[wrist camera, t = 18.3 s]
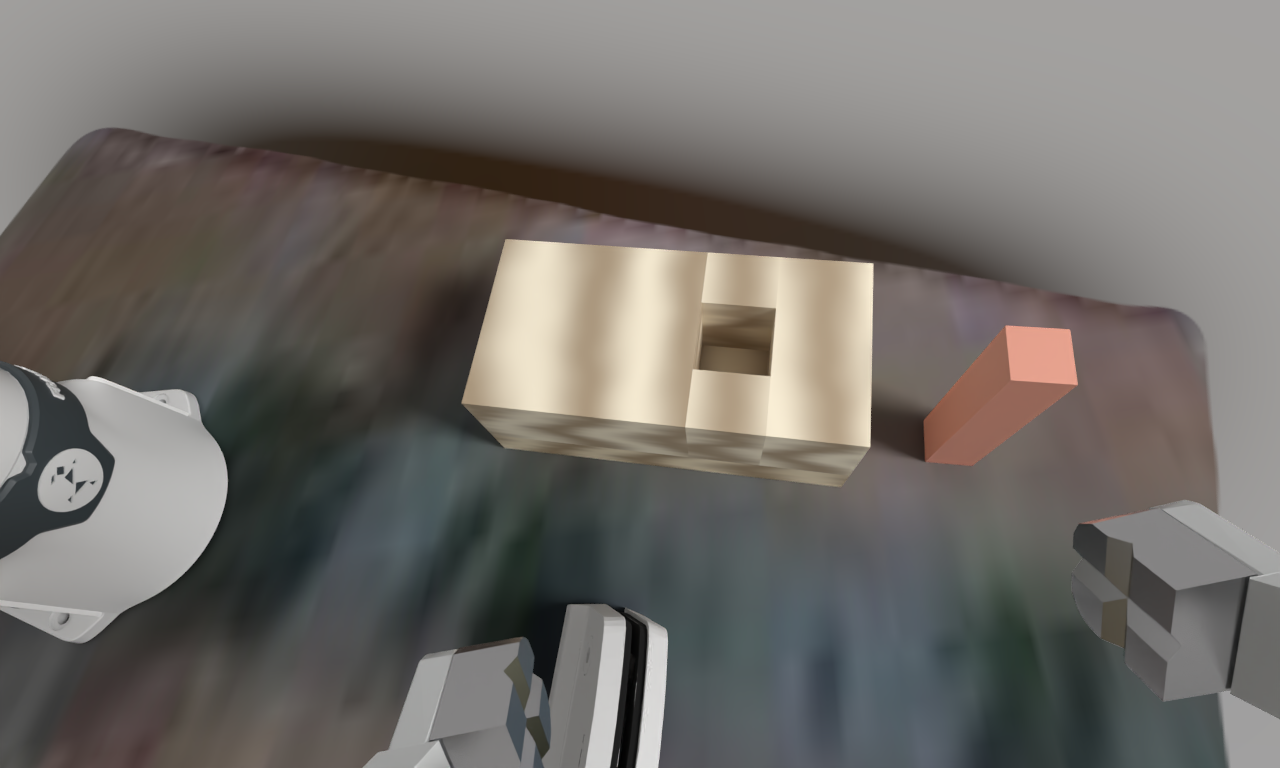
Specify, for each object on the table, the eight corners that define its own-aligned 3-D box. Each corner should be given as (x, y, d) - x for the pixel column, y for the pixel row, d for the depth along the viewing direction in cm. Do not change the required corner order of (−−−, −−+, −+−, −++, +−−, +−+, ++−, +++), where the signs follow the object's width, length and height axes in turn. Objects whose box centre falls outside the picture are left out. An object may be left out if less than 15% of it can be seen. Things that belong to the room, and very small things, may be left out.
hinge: (568, 598, 43) (594, 592, 34) (637, 611, 44) (680, 608, 35) (509, 903, 37) (522, 995, 28) (590, 911, 38) (628, 1003, 29)
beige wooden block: (504, 447, 48) (461, 403, 40) (539, 301, 53) (507, 234, 44) (841, 487, 44) (870, 447, 36) (846, 326, 49) (873, 258, 41)
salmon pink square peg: (925, 461, 45) (1010, 380, 32) (923, 420, 46) (1005, 325, 33) (971, 465, 44) (1077, 385, 31) (969, 424, 45) (1069, 329, 32)
